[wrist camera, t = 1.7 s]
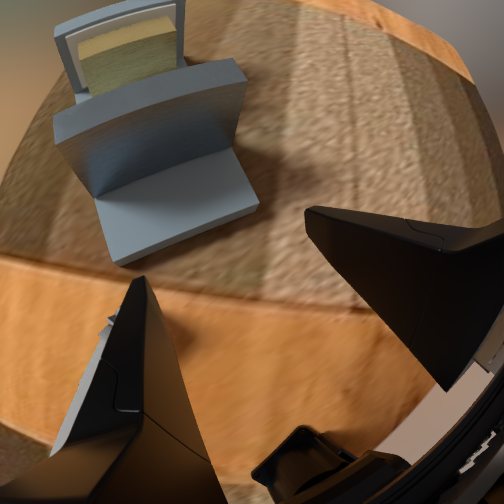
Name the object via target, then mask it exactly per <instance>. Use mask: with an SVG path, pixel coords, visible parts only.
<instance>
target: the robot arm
mask: <svg viewBox="0 0 504 504" xmlns="http://www.w3.org/2000/svg"><path fill="white" fill-rule="evenodd" d="M304 217H305V228H306V233H307V235H308V237H309V238H310V239H311V240H312V242H313V243H314V244H315V245H316V247H317V248H318V249H319V251H320V252H321V253H322V254H323V256H324V257H325V258H326V259H327V261H328V262H329V263H330V264H331V266H332V267H333V268H334V269H335V270H336V271H337V272H338V273H339V274H340V275H341V276H342V277H343V278H344V279H345V280H346V281H347V282H348V283H349V284H350V286H351V287H352V288H353V289H354V290H355V291H356V292H357V293H358V294H359V295H360V296H361V297H362V298H363V299H364V300H365V301H366V303H367V304H368V305H369V306H370V307H371V308H372V309H373V310H374V311H375V312H376V313H377V314H378V316H379V317H380V318H381V319H382V320H383V321H384V322H385V323H386V324H387V325H388V326H389V328H390V329H391V330H392V331H393V332H394V333H395V334H396V335H397V337H398V338H399V339H400V340H401V341H402V342H403V343H404V344H405V346H406V347H407V348H409V350H410V351H411V353H412V354H413V355H414V356H415V357H416V358H417V359H418V361H419V362H420V363H421V364H422V365H423V366H424V368H425V369H426V370H427V371H428V372H429V373H430V375H431V376H432V377H433V378H434V379H435V381H436V382H437V383H438V384H439V385H440V387H441V388H442V389H443V390H444V391H445V392H446V393H447V392H448V391H449V389H451V388H452V387H453V385H454V384H455V383H456V382H457V381H458V380H459V379H460V378H461V376H462V375H463V374H464V373H465V372H466V371H467V370H468V369H469V367H470V366H471V365H472V364H473V363H474V361H475V362H476V363H477V364H479V365H480V366H481V367H482V368H483V369H484V370H485V371H486V372H487V373H489V372H490V371H491V372H492V373H493V374H494V375H495V376H494V377H493V379H492V380H491V381H490V383H489V384H488V386H487V387H486V388H485V389H484V391H483V392H482V393H481V394H480V396H479V397H478V398H477V399H476V401H475V402H474V403H473V404H472V406H471V407H470V408H469V409H468V410H467V412H466V413H465V414H464V415H463V416H462V417H461V418H460V419H459V420H458V422H457V423H456V424H455V425H454V426H453V427H452V428H451V429H450V430H449V431H448V432H447V434H445V435H444V436H443V437H442V438H441V439H440V440H439V441H438V442H437V443H436V444H435V445H434V446H433V447H432V448H431V449H430V450H429V451H428V452H427V453H426V454H425V455H424V456H422V457H421V458H420V459H419V460H418V461H417V462H416V463H414V464H413V465H412V466H411V465H410V464H409V463H408V462H407V461H406V460H404V459H403V458H401V457H400V456H398V455H394V454H389V453H383V452H378V451H372V450H368V451H367V452H365V453H364V454H363V456H361V457H360V458H357V457H356V456H355V455H353V454H352V453H350V452H349V451H348V450H346V449H345V448H344V447H342V446H341V445H340V444H338V443H337V442H335V441H334V440H332V439H331V438H329V437H328V436H327V435H325V434H324V433H321V434H319V435H316V434H315V433H313V432H312V431H311V430H309V429H308V428H306V427H305V426H303V425H301V426H298V427H297V428H296V429H295V430H294V431H293V432H292V433H291V434H290V435H289V436H288V437H287V438H286V439H285V440H284V441H283V442H282V443H281V444H280V445H279V446H278V447H277V448H276V449H275V450H274V451H273V452H272V453H271V454H270V455H269V456H268V457H267V458H266V459H265V460H264V461H263V462H262V463H261V464H260V465H259V466H257V467H256V468H255V469H254V470H253V471H252V472H251V477H252V479H253V480H255V481H257V482H259V483H260V484H262V485H264V486H266V487H267V489H268V491H269V493H270V495H271V497H272V499H273V501H274V503H275V504H504V218H502V219H500V220H498V221H496V222H494V223H492V224H490V225H488V226H485V227H482V228H466V227H458V226H451V225H443V224H436V223H429V222H423V221H417V220H411V219H404V218H399V217H393V216H386V215H380V214H374V213H367V212H360V211H353V210H346V209H339V208H332V207H324V206H312V207H309V208H307V209H306V210H305V212H304ZM100 358H101V359H100V360H99V362H98V365H97V368H96V370H95V373H94V376H93V378H92V381H91V384H90V386H89V388H88V391H87V393H86V395H85V398H84V400H83V402H82V405H81V407H80V409H79V411H78V414H77V416H76V419H75V421H74V423H73V426H72V428H71V431H70V433H69V435H68V437H67V440H66V441H65V443H64V445H63V446H62V447H61V448H60V449H59V450H58V451H57V452H56V453H55V454H54V455H52V456H51V457H49V458H47V459H46V460H44V461H43V462H41V463H40V464H38V465H36V466H35V467H33V468H32V469H30V470H28V471H27V472H25V473H23V474H22V475H20V476H19V477H17V478H15V479H14V480H12V481H10V482H8V483H6V484H4V485H2V486H0V504H228V502H227V500H226V498H225V495H224V493H223V491H222V488H221V486H220V483H219V481H218V479H217V476H216V474H215V471H214V469H213V466H212V465H211V461H210V459H209V456H208V453H207V451H206V448H205V445H204V442H203V440H202V437H201V434H200V431H199V428H198V425H197V422H196V419H195V416H194V413H193V410H192V407H191V404H190V401H189V398H188V395H187V391H186V388H185V385H184V381H183V378H182V374H181V371H180V367H179V364H178V360H177V356H176V353H175V349H174V345H173V342H172V338H171V336H170V333H169V330H168V328H167V325H166V322H165V320H164V317H163V314H162V312H161V309H160V306H159V304H158V301H157V298H156V296H155V294H154V292H153V290H152V288H151V286H150V284H149V282H148V280H147V278H146V277H145V276H144V275H143V276H140V277H138V278H135V279H133V280H132V282H131V284H130V286H129V289H128V291H127V293H126V295H125V298H124V300H123V302H122V305H121V307H120V309H119V312H118V314H117V316H116V319H115V321H114V324H113V326H112V329H111V331H110V334H109V336H108V339H107V341H106V344H105V346H104V349H103V352H102V354H101V357H100ZM302 429H303V432H302V433H299V432H300V430H302ZM492 431H494V432H495V433H496V435H495V436H494V437H493V438H492V439H491V440H490V441H489V442H488V444H487V445H488V446H489V447H488V448H487V449H486V450H485V451H483V452H482V453H481V454H480V455H478V456H477V457H476V458H475V459H474V460H473V462H474V463H475V464H474V465H473V466H472V467H471V468H469V469H468V470H467V471H465V472H464V473H460V471H459V470H460V469H461V468H463V467H464V466H465V465H467V464H468V463H469V462H470V461H471V459H470V458H471V457H472V456H473V455H474V454H476V453H477V452H478V451H479V450H480V449H481V448H482V446H481V445H482V444H483V443H484V442H485V441H487V440H488V439H489V438H490V437H491V435H492V434H491V432H492ZM255 474H259V475H258V476H255Z"/></svg>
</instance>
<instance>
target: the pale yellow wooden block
mask: <svg viewBox="0 0 504 504" xmlns="http://www.w3.org/2000/svg"><path fill="white" fill-rule="evenodd" d="M176 42H177V30H176V28H175V27H174V25H173V24H172V22H171V20H170V19H169V17H168V16H165V17H160V18H156V19H152V20H148V21H144V22H140V23H136V24H133V25H129V26H126V27H122V28H119V29H116V30H113V31H110V32H107V33H104V34H101V35H98V36H96V37H93V38H90V39H88V40H85V41H83V42H80V43H78V53H79V62H80V65H81V68H82V71H83V74H84V77H85V80H86V83H87V86H88V88H89V91H90V94H91V97H92V98H93V97H95V96H98V95H100V94H103V93H105V92H108V91H110V90H113V89H116V88H118V87H121V86H124V85H127V84H130V83H133V82H136V81H139V80H142V79H145V78H148V77H152V76H155V75H158V74H162V73H166V72H169V71H173V70H177V66H176Z"/></svg>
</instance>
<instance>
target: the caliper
mask: <svg viewBox="0 0 504 504" xmlns="http://www.w3.org/2000/svg"><path fill="white" fill-rule="evenodd" d="M120 307H121V306H120ZM120 307H119V308H118V309H117V311H116V313H115V315H113V316H110V317H108V318H107V322H108V323H109V325H107V326H106V327H105V328H104V329H103V330H102V331H101V332H100V333H99V334H98V336H100V337H101V340H100V342H99V344H98V345H97V347H96V349H95V351H94V353H93V355H92V357H91V359H90V361H89V363H88V365H87V368H86V370H85V372H84V374H83V376H82V378H81V380H80V382H79V384H78V386H79V388H78V390H77V392H76V394H75V397H74V399H73V401H72V403H71V405H70V408H69V410H68V412H67V414H66V417H65V419H64V421H63V424H62V426H61V429H60V431H59V433H58V436H57V438H56V441H55V443H54V446H53V449H52V451H51V454H50V457H51V456H52V455H54V454H55V453H56V452H57V451H58V450H59V449H60V448H61V447H62V446H63V445H64V443H65V441H66V440H67V437H68V435H69V433H70V431H71V428H72V426H73V423H74V421H75V419H76V416H77V414H78V411H79V409H80V407H81V405H82V402H83V400H84V398H85V395H86V393H87V391H88V388H89V386H90V384H91V381H92V378H93V376H94V373H95V370H96V368H97V365H98V362H99V360H100V359H101V358H100V357H101V354H102V352H103V349H104V346H105V344H106V341H107V339H108V336H109V334H110V331H111V329H112V326H113V324H114V321H115V319H116V316H117V314H118V312H119V309H120Z"/></svg>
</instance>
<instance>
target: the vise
mask: <svg viewBox="0 0 504 504" xmlns="http://www.w3.org/2000/svg"><path fill="white" fill-rule="evenodd" d="M185 2H186V0H127V1H124V2H120V3H117V4H114V5H110V6H107V7H104V8H101V9H98V10H95V11H92V12H90V13H87V14H84V15H82V16H79V17H77V18H74V19H71V20H69V21H67V22H64V23H62V24H60V25H58V26H55V33H54V39H55V42H56V45H57V48H58V51H59V54H60V56H61V59H62V62H63V64H64V67H65V70H66V72H67V75H68V78H69V80H70V83H71V85H72V88H73V90H74V93H75V98H76V105H77V104H79V103H81V102H83V101H86V100H88V99H90V98H92V97H91V94H90V91H89V88H88V86H87V83H86V80H85V77H84V74H83V71H82V68H81V65H80V62H79V53H78V43H80V42H83V41H85V40H88V39H90V38H93V37H96V36H98V35H101V34H104V33H107V32H110V31H113V30H116V29H119V28H122V27H126V26H129V25H133V24H136V23H140V22H144V21H148V20H152V19H156V18H160V17H165V16H168V17H169V19H170V20H171V22H172V24H173V25H174V27H175V28H176V30H177V42H176V66H177V69H181V68H185V67H188V65H187V64H186V62H185V60H184V58H183V46H184V20H185ZM94 200H95V204H96V207H97V211H98V215H99V219H100V222H101V226H102V229H103V232H104V236H105V239H106V242H107V245H108V249H109V252H110V255H111V258H112V261H113V263H115V264H116V265H118V266H119V267H121V266H123V265H126V264H128V263H130V262H133V261H135V260H137V259H140V258H142V257H144V256H147V255H149V254H151V253H154V252H156V251H158V250H161V249H163V248H166V247H168V246H170V245H173V244H175V243H178V242H180V241H183V240H185V239H187V238H190V237H192V236H195V235H197V234H200V233H202V232H205V231H207V230H210V229H212V228H215V227H217V226H220V225H222V224H225V223H227V222H230V221H232V220H235V219H238V218H240V217H243V216H245V215H248V214H251V213H253V212H255V211H256V209H257V207H258V205H259V203H260V202H259V200H258V198H257V196H256V194H255V192H254V190H253V188H252V186H251V184H250V182H249V180H248V178H247V176H246V174H245V172H244V171H243V169H242V167H241V165H240V163H239V161H238V159H237V157H236V155H235V153H234V151H233V149H232V147H229V148H226V149H223V150H220V151H216V152H213V153H210V154H207V155H204V156H201V157H198V158H195V159H192V160H189V161H186V162H183V163H180V164H178V165H175V166H172V167H169V168H167V169H164V170H161V171H159V172H156V173H153V174H151V175H148V176H146V177H143V178H141V179H138V180H136V181H133V182H131V183H128V184H126V185H123V186H121V187H119V188H116V189H114V190H112V191H109V192H107V193H105V194H103V195H100V196H98V197H96V198H94Z"/></svg>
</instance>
